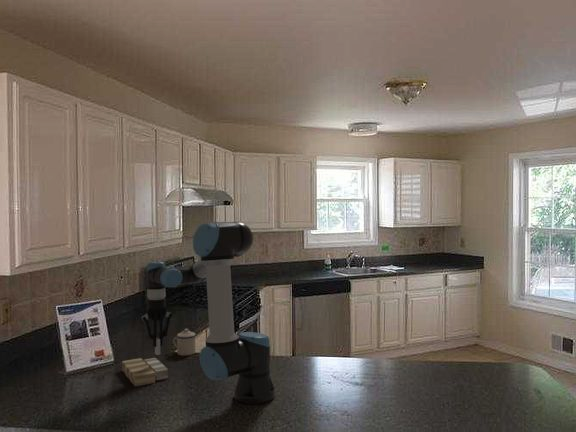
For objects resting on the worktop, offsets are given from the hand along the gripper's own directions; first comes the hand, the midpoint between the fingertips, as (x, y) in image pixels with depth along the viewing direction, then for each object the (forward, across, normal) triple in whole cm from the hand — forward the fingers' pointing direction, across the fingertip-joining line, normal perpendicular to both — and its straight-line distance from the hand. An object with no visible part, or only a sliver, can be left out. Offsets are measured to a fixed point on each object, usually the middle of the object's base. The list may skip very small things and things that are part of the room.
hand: (157, 353), depth 196 cm
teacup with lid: (+8, -19, -22) cm, 30 cm away
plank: (+9, +1, -1) cm, 9 cm away
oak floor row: (+8, +8, -1) cm, 11 cm away
